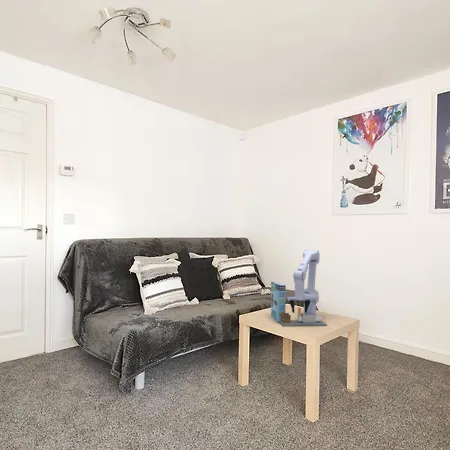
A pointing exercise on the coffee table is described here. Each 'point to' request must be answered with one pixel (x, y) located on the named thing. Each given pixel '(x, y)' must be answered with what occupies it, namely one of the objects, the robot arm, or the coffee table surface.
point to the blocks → (318, 318)
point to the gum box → (277, 300)
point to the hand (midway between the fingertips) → (299, 312)
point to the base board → (299, 323)
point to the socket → (285, 318)
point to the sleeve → (308, 318)
